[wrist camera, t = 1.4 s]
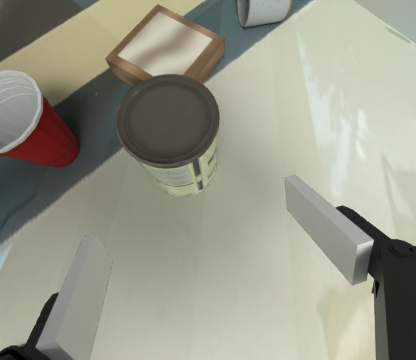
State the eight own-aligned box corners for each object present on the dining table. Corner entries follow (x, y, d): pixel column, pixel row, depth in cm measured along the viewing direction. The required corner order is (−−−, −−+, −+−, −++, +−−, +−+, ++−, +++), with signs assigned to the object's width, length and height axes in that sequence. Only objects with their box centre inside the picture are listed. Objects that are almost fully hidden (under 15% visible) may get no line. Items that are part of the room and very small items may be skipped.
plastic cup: (21, 134, 38) (-62, 85, 26) (85, 112, 39) (32, 56, 27) (32, 194, 35) (-55, 168, 24) (101, 168, 36) (50, 132, 25)
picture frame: (115, 76, 41) (104, 57, 37) (162, 25, 44) (157, 2, 40) (178, 114, 39) (174, 98, 35) (223, 57, 42) (225, 36, 38)
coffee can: (151, 137, 38) (118, 75, 24) (214, 134, 38) (216, 71, 24) (149, 198, 35) (110, 168, 21) (218, 196, 35) (222, 163, 21)
